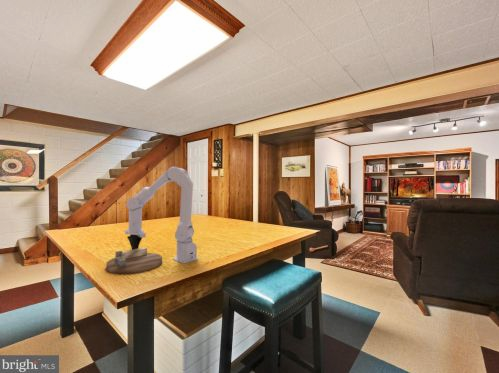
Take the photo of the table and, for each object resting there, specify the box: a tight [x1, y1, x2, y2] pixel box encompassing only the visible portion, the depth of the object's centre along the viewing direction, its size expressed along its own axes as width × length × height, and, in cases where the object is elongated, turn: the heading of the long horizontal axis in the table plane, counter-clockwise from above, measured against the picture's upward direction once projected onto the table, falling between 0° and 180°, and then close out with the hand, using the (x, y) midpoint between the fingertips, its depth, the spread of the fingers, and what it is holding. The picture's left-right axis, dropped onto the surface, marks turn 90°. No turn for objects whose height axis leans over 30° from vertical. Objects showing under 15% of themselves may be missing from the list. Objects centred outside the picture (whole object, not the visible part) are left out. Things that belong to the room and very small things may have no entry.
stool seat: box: [105, 252, 163, 275], centre depth 103 cm, size 22×22×5 cm
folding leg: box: [114, 246, 148, 259], centre depth 107 cm, size 13×3×4 cm, turn 140°
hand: (134, 250), depth 114 cm, fingers closed
